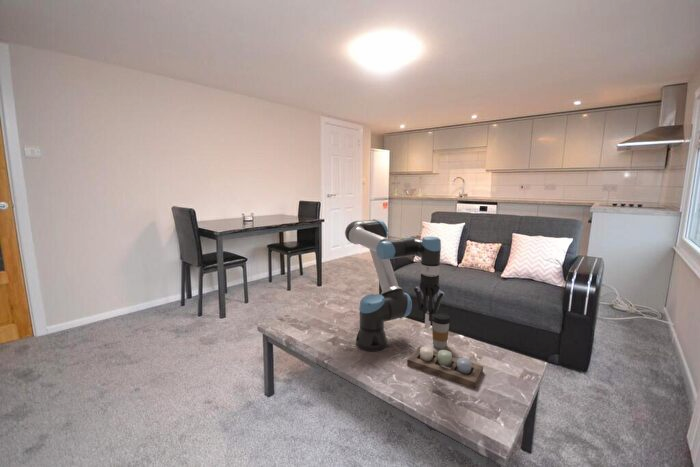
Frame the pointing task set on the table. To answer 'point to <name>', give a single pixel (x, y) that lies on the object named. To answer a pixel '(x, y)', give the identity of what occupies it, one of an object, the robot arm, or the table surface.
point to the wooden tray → (446, 369)
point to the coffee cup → (440, 329)
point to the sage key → (444, 357)
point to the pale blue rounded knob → (464, 366)
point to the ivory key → (426, 354)
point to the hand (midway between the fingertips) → (427, 327)
